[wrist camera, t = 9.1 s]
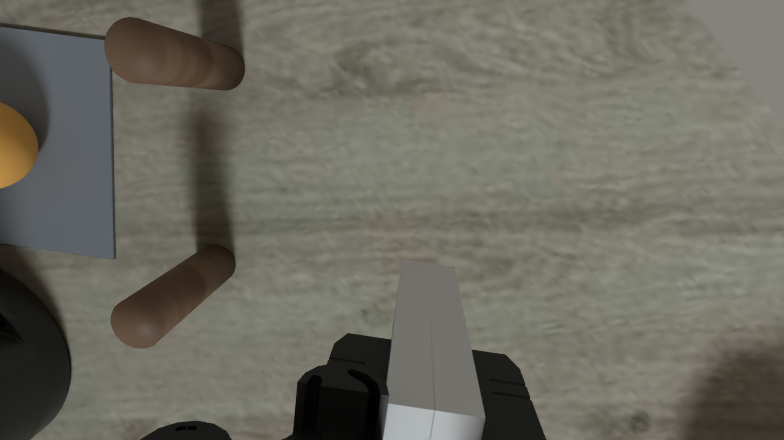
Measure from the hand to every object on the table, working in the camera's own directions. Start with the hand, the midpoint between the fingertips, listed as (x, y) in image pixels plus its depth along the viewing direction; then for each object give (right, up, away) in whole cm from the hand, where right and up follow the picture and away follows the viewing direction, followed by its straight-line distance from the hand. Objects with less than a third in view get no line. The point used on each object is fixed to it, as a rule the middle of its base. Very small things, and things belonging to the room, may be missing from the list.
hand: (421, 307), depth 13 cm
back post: (-13, 0, +18) cm, 22 cm away
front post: (-11, +12, +15) cm, 22 cm away
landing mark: (-26, +8, +17) cm, 32 cm away
